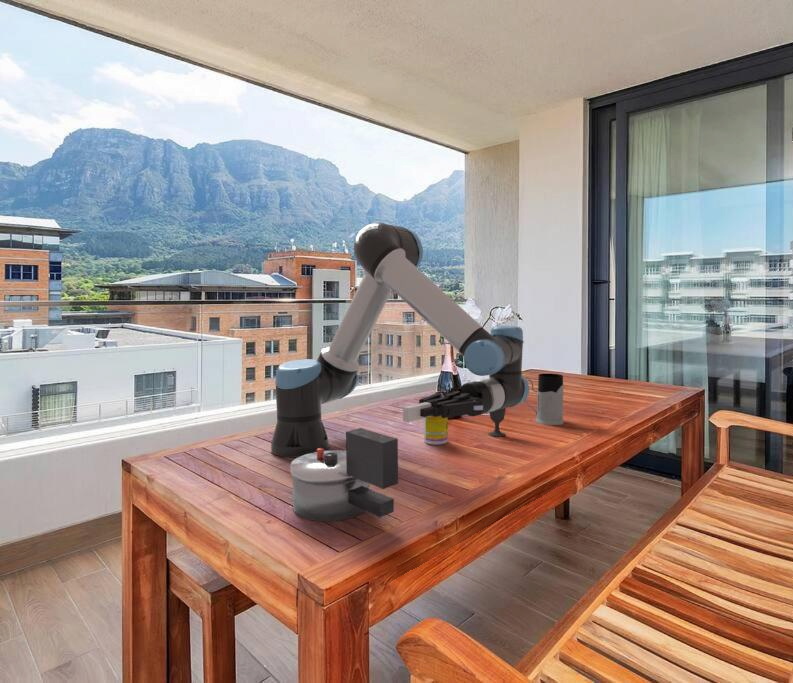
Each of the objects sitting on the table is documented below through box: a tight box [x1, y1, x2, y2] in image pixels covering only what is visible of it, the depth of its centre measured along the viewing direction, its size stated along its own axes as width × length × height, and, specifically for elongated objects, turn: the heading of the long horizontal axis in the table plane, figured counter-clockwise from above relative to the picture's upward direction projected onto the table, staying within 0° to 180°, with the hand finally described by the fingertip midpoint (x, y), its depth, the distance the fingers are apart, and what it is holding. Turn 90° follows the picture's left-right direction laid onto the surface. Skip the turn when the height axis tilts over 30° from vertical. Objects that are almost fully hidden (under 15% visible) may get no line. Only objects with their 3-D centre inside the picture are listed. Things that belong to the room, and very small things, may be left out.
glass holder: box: [523, 373, 565, 426], centre depth 163 cm, size 9×14×15 cm, turn 70°
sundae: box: [488, 408, 507, 438], centre depth 148 cm, size 7×7×15 cm
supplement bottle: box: [423, 394, 449, 446], centre depth 141 cm, size 7×7×13 cm
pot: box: [291, 475, 395, 522], centre depth 98 cm, size 26×15×7 cm, turn 44°
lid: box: [289, 427, 399, 490], centre depth 96 cm, size 25×16×9 cm, turn 44°
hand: (405, 414), depth 98 cm, fingers closed
